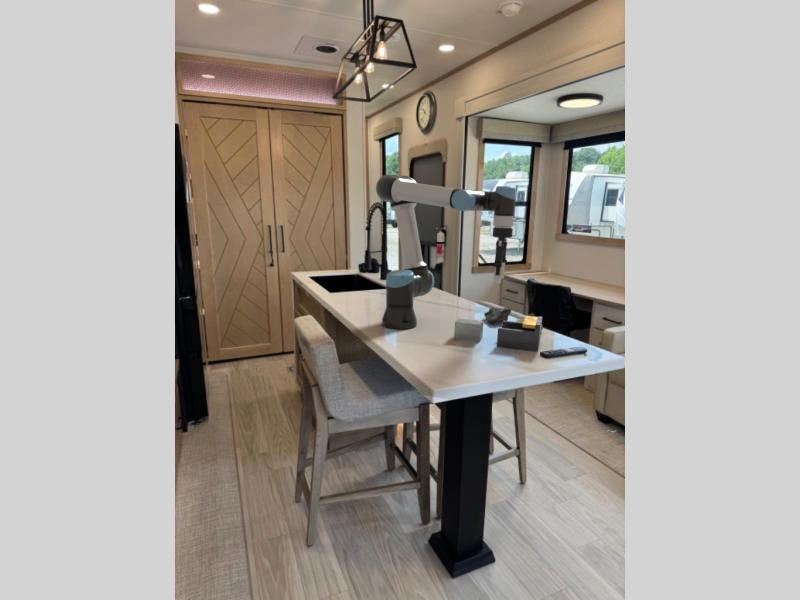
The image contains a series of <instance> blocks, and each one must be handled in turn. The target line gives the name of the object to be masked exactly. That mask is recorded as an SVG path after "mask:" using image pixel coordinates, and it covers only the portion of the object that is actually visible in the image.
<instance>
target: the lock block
mask: <svg viewBox="0 0 800 600" xmlns="http://www.w3.org/2000/svg"><path fill="white" fill-rule="evenodd" d="M453 333H454V334H453V335H454V337H453V339H454V340H458V341H459V340H460V341H468V342H474V343H475V342H476V343H480V342H481V341H482V339H483V335H484V320H477V319H476V320H475V319H468V318H467V319H466V318H457V319H456V320H455V322H454V332H453Z"/></svg>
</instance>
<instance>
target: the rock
mask: <svg viewBox="0 0 800 600" xmlns="http://www.w3.org/2000/svg"><path fill="white" fill-rule="evenodd" d="M511 313H512V309H511V308H507V307H504V308H503V307H491V308H489V309H488V311H486V312H484V315H483V316H484V318H485V319H486V321H487V322H488V323H489V324H491V325H497V324H499V323H500V322H502V321H503V320H504V321H509V316H510V315H511Z"/></svg>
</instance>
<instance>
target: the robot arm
mask: <svg viewBox="0 0 800 600" xmlns="http://www.w3.org/2000/svg"><path fill="white" fill-rule="evenodd" d="M375 191H376V195H377V196H378V199H380V200H382V201H383V202H385V203H390V209H391V210H392V211H394V213H395V217H396V224H397V231H398V236H399V240H400V241H399V242H400V248H401V252H402V253H401V254H402V260H403V266H402V268H401V269H395V270H392V271H389V272H388V273H387V275H386V280H385V283H386V284H385V285H386V288H385V290H386V292H385V293H386V294H385V295H386V297H385V298H386V299H385V300H386V301H385V310H384V314H383V317H382V319H381V325H382V326H383V327H384V326H385V327H384V328H387V327H389V328H388V329H392V328H396V329H395V330H407V329H406V328H409V329H413V328H416V325H418V319H417V317H416V313H415V309H414V299H415V298H417V297H422V296H425V295H427V294H429V293H430V292H431V291H432V290H433V288H434V286H435V277H434V275H433V273H432V272H431V271H430V270H429V267H428V263H425V262H424V259H423V258H424V257H423V254H422V248H421V247H422V246H421V242H420V235H419V230H418V229H419V228H418V224H417V223H418V222H417V218H416V212H415V211H416V210H415V208H416V206H417V205H418V204H423V205H428V206H436V207H442V208H447V209H454V210H458V211H460V212H468V211H473V212H474V211H475V212H494V213H493V222H492V223H493V225H492V226H493V228H492V237H493V238H498V239H497V240H496V242H495V246H496V247H495V258H494V263H493V264H492V267H494V269H493V271H494V272H493V284H496V285H497V284H498V285H501V284H502V280H503V279H505V271H506V263H508V259H507V257H506V256H507V254H506V253H507V249H508V248H507V247H508V242H507V241H508V239H511V238H513V228H512V227H513V226H514V222H515V221H516V218H514V216H515V206H516V199H517V198H516V188H515V186H510V185H509V186H508V185H501V186H500V185H498V186H496V187H495V190H494V191H486V190H485V191H484V190H483V191H479V190H471V189H464V188H463V189H461V188H454V187H446V186H440V185H432V184H425V183H418V182H417V181H416V180H415V179H414V178H412V177H410V176H407V175H400V174H399V175H398V174H392V173H391V174H390V173H389V174H385V175H382V176H380V178H378V180H377V182H376V185H375ZM412 327H413V328H412Z"/></svg>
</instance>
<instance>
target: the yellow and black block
mask: <svg viewBox="0 0 800 600" xmlns="http://www.w3.org/2000/svg"><path fill="white" fill-rule="evenodd" d="M528 316H532V317H536V315H535V313H533V312H530V314H528ZM524 319H525V318H523V319H518V320H517V321H515V322H524ZM543 328H544V327H543V324H542V325H541V332H542V331H543Z"/></svg>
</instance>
